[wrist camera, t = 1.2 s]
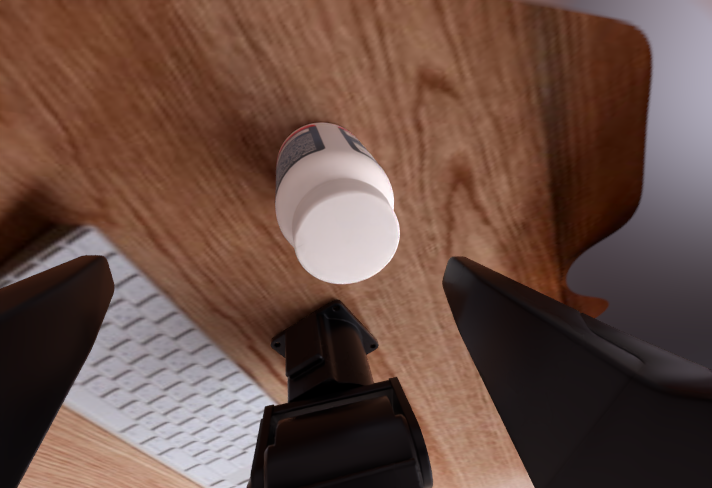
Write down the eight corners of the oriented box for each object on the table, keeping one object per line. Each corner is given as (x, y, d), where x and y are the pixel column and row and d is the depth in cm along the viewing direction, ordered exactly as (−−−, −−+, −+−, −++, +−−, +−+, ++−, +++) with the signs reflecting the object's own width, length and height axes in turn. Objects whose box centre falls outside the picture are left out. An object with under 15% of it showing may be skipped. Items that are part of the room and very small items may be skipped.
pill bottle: (276, 206, 20) (273, 301, 13) (275, 117, 18) (270, 169, 10) (360, 208, 21) (402, 295, 14) (371, 125, 19) (429, 176, 11)
